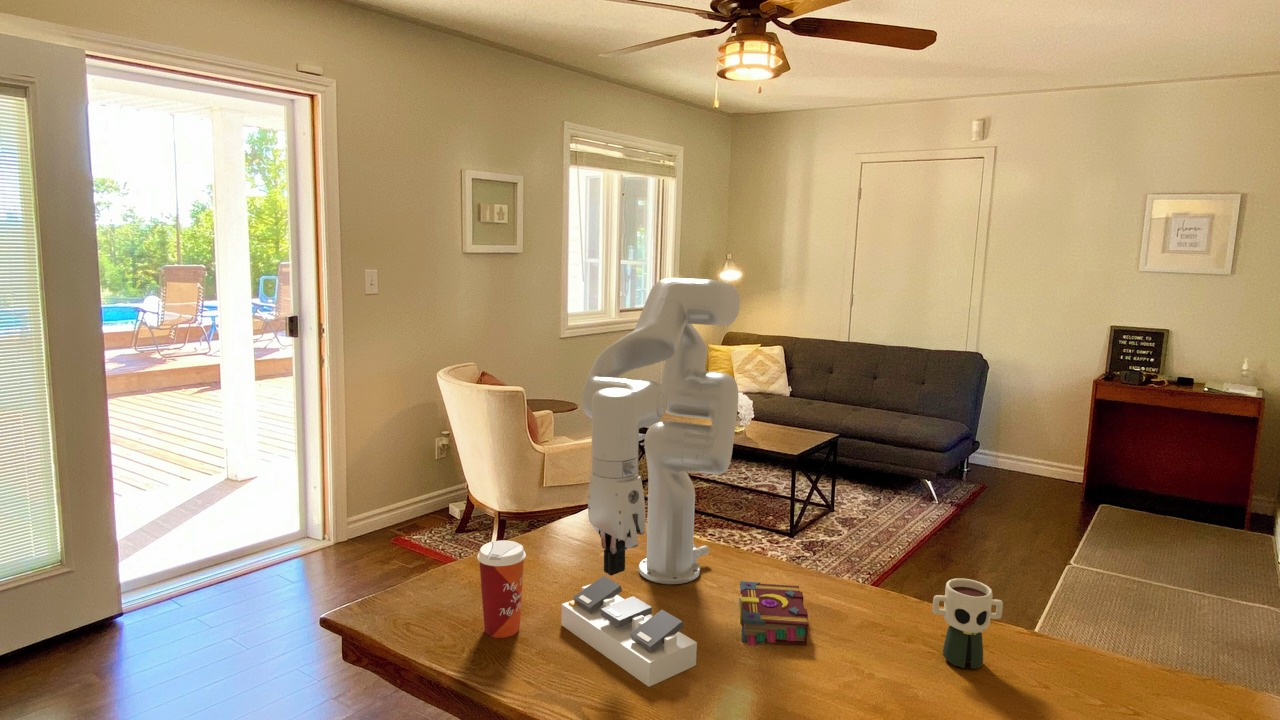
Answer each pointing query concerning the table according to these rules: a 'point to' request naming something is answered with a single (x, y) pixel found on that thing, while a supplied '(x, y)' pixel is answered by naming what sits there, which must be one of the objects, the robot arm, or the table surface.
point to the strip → (629, 643)
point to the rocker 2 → (656, 630)
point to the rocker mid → (625, 611)
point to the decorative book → (772, 614)
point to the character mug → (966, 619)
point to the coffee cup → (501, 586)
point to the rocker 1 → (597, 594)
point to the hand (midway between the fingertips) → (614, 571)
